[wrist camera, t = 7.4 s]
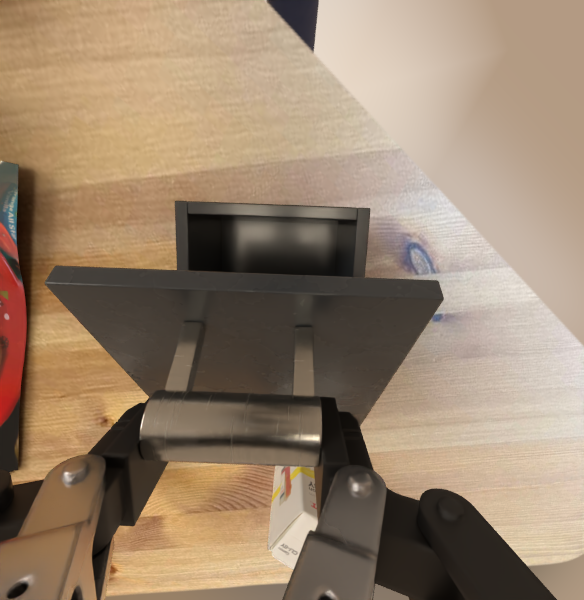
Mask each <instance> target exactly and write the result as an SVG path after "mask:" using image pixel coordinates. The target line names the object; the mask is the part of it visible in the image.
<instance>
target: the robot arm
mask: <svg viewBox="0 0 584 600" xmlns="http://www.w3.org/2000/svg"><path fill="white" fill-rule="evenodd" d="M156 391H158V390H156ZM156 391H155V392H156ZM155 392H154V393H155ZM154 393H153V394H154ZM153 394H152V395H153ZM152 395H151V396H152ZM151 396H150V397H151ZM150 397H149V399H150ZM149 399H148V400H147V401H146V402H145V403H139V404H137V405H135V406H134V407H132V408H130V409H129V410H127V411H126V412H125V413H124V414H123V415H122V416H121V418H120V419H119V420H118V422H116V423H115V424H114V425H113V426H112V427H111V430H109V431H108V432H107V433H106V434H105V435H104V436H103V437H102V438H101V440H100V441H99V442H98V443H97V444H96V445H95V446H94V447H93V448H92V449H91V451H90V452H89V453H88V454H86V455H80V456H76V457H73V458H70V459H68V460H66V461H64V462H62V463H60V464H59V465H57V466H56V467H54V468H53V469H52V470H51V471H50V472H49V473H48V474H47V476H46V477H45V479H44V480H40V481H34V482H29V483H24V484H18V485H12V479H11V475H10V473H9V472H8V471H5V470H0V600H105V597H106V591H107V585H108V579H109V573H110V567H111V561H112V555H113V550H114V537H113V535H114V534H115V532H116V530H117V529H118V527H119V525H121V526H134V525H135V523H136V521H137V520H138V518H139V516H140V514H141V512H142V510H143V508H144V507H145V505H146V503H147V501H148V499H149V497H150V495H151V493H152V492H153V490H154V488H155V486H156V484H157V482H158V480H159V479H160V477H161V475H162V473H163V471H164V469H165V467H166V465H167V464H168V461H147V460H145V459H144V458H143V457H142V455H141V452H140V446H139V434H140V426H141V421H142V417H143V413H144V410H145V408H146V405H147V403H148V401H149ZM320 401H321V409H322V450H321V461H320V465H319V467H317V468H315V467H314V477H315V490H316V504H317V518H318V524H317V527H316V529H315V531H312V530H310V531H309V532H308V534H307V536H306V539H305V541H304V544H303V546H302V549H301V552H300V554H299V557H298V560H297V562H296V565H295V567H294V570H293V573H292V575H291V578H290V581H289V583H288V586H287V589H286V591H285V594H284V597H283V599H282V600H373V596H374V588H375V583H376V584H378V585H381V586H383V587H386V588H388V589H391V590H393V591H396V592H398V593H401V594H403V595H406V596H408V597H409V600H557V599H556V598H555V597H554V596H553V595H552V594H551V593H550V591H549V590H548V589H547V588H546V587H545V586H544V585H543V583H542V582H541V581H540V580H539V579H538V578H537V577H536V576H535V575H534V573H533V572H532V571H531V570H530V569H529V568H528V567H527V566H526V564H525V563H524V562H523V561H522V560H521V559H520V558H519V557H518V555H517V554H516V553H515V552H514V551H513V550H512V549H511V548H510V547H509V545H508V544H507V543H506V542H505V541H504V540H503V539H502V538H501V536H500V535H499V534H498V533H497V532H496V531H495V530H494V529H493V527H492V526H491V525H490V524H489V523H488V522H487V521H486V520H485V519H484V517H483V516H482V515H481V514H480V513H479V512H478V511H477V510H476V508H475V507H474V506H473V505H472V504H471V503H470V502H468V501H467V500H466V499H465V498H463V497H462V496H460V495H458V494H456V493H454V492H451V491H448V490H444V489H430V490H427V491H425V492H424V493H423V494H422V495H421V497H420V501H419V500H415V499H412V498H409V497H405V496H402V495H399V494H397V493H395V492H393V491H391V490H389V489H388V488H386V484H385V482H384V480H383V479H382V478H381V476H380V475H379V474H377V473H376V472H375V471H373V467H372V464H371V461H370V458H369V455H368V452H367V448H366V445H365V442H364V440H363V436H362V433H361V429H360V426H359V423H358V420H357V419H356V418H355V417H354V416H353V415H352V414H351V413H350V412H343V411H338V408H337V404H336V399H335V397H320Z"/></svg>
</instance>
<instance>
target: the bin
mask: <svg viewBox="0 0 584 600" xmlns="http://www.w3.org/2000/svg"><path fill="white" fill-rule="evenodd" d="M369 219H370V208H351V207H325V206H299V205H273V204H247V203H221V202H196V201H175V220H176V250H177V270H182V271H208V272H233V273H259V274H284V275H310V276H335V277H360V278H365V266H366V255H367V243H368V231H369Z"/></svg>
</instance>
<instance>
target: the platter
mask: <svg viewBox="0 0 584 600" xmlns="http://www.w3.org/2000/svg"><path fill="white" fill-rule="evenodd" d="M17 197H18V165H17V164H13V163H8V162H4V161H0V470H5V471H8V472H11V471H14V470H18V448H19V409H20V391H21V379H22V371H23V363H24V354H25V345H26V330H27V319H26V303H25V294H24V287H23V282H22V276H21V271H20V266H19V260H18V252H17V235H16V225H17Z"/></svg>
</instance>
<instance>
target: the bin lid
mask: <svg viewBox="0 0 584 600" xmlns="http://www.w3.org/2000/svg"><path fill="white" fill-rule="evenodd" d="M45 285H46V286H47V287H48V288H49V289H50V290H51V291H52V292H53V294H54V295H55V296H56V297H57V298H58V299H59V300H60V301H61V302H62V303H63V304H64V305H65V307H66V308H67V309H68V310H69V311H70V312H71V313H72V314H73V315H74V316H75V317H76V318H77V320H78V321H79V322H80V323H81V324H82V325H83V326H84V327H85V328H86V329H87V330H88V331H89V333H90V334H91V335H92V336H93V337H94V338H95V339H96V340H97V341H98V342H99V343H100V344H101V345H102V347H103V348H104V349H105V350H106V351H107V352H108V353H109V354H110V355H111V356H112V357H113V358H114V360H115V361H116V362H117V363H118V364H119V365H120V366H121V367H122V368H123V369H124V370H125V371H126V373H127V374H128V375H129V376H130V377H131V378H132V379H133V380H134V381H135V382H136V383H137V384H138V386H139V387H140V388H141V389H142V390H143V391H144V392H145V393H146V394H147V395H148V396H149V397H150V396H151V395H152V394H153V393H154V392H155V391H156V390H158V391H156V392H155V393H154V394H153V395H152V396H151V397H150V399H149V401H148V403H147V405H146V408H145V410H144V413H143V417H142V421H141V426H140V434H139V446H140V452H141V455H142V457H143V458H144V459H145V460H147V461H168V462H193V463H217V464H241V465H266V466H290V467H315V468H317V467H319V465H320V461H321V450H322V409H321V401H320V397H335V399H336V404H337V408H338V411H343V412H350V413H351V414H352V415H353V416H354V417H355V418H356V419H357V420H358V423H359V426H360V425H361V424H362V422H363V421H364V419H365V418H366V416H367V415H368V413H369V412H370V410H371V409H372V407H373V406H374V404H375V403H376V401H377V400H378V398H379V397H380V395H381V394H382V392H383V391H384V389H385V388H386V386H387V385H388V383H389V382H390V380H391V379H392V377H393V376H394V374H395V372H396V371H397V369H398V368H399V366H400V365H401V363H402V362H403V360H404V359H405V357H406V356H407V354H408V353H409V351H410V350H411V348H412V347H413V345H414V344H415V342H416V341H417V339H418V338H419V336H420V335H421V333H422V332H423V330H424V329H425V327H426V326H427V324H428V323H429V321H430V320H431V318H432V316H433V315H434V313H435V312H436V310H437V309H438V307H439V306H440V304H441V303H442V301H443V299H444V297H443V294H442V291H441V288H440V285H439V282H438V281H437V280H411V279H386V278H360V277H335V276H310V275H284V274H259V273H233V272H208V271H182V270H157V269H131V268H106V267H80V266H55V267H54V268H53V270H52V272H51V273H50V275H49V276H48V278H47V279H46V281H45Z"/></svg>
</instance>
